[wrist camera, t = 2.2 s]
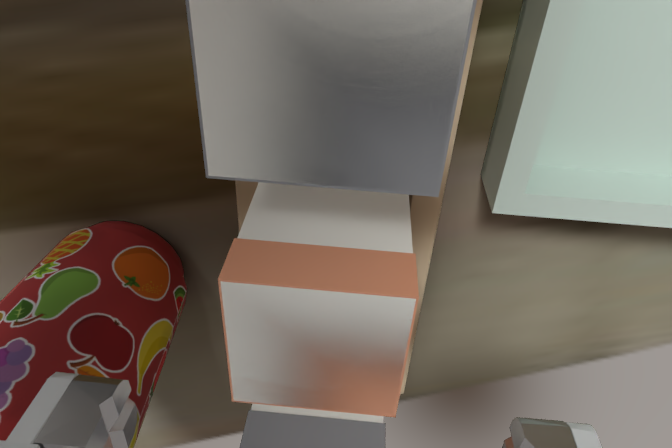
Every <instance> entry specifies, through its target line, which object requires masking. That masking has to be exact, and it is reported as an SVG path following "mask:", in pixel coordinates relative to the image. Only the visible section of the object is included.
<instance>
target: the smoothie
mask: <svg viewBox="0 0 672 448" xmlns="http://www.w3.org/2000/svg"><path fill="white" fill-rule="evenodd" d="M183 275H184V270H183V267H182V263H181V260H180V258H179V256H178V255H177V253H176V252H175V250H174V249H173V248H172V246H171V245H170V244H169V243H167V242H166V241H165V240H164V239H163V238H162V237H160V236H159V235H158V234H156V233H154V232H152V231H150V230H148V229H147V228H145V227H143V226H140V225H136V224H132V223H129V222H125V221H105V222H102V223H98V224H95V225H92V226H91V227H86V228H83V229H80V230H77V231H73V232H71V233H70V234H69V235H67V236H66V237H65V238H64V239H62V240H61V241H60V242H59V243H58V244H57V245H56V246H55V247H54V248H53V249H52V250H51V251H50V252H49V253H48V254H47V255H46V256H45V257H44V258H43V259H42V260H41V261H40V262H39V263H38V264H37V265H36V266H35V267H34V268H33V269H32V270H31V271H30V272H29V273H28V274H27V275H26V277H25V278H24V279H23V280H22V281H21V282H20V283H19V284H18V285H17V286H16V287H15V288H14V289H13V290H12V291H11V292H10V293H9V294H8V295H7V296H6V297H5V298H4V299H3V300H2V301H1V302H0V440H3V441H6V439H7V438H8V436H9V435H10V434H11V432H12V431H13V429H14V428H15V426H16V425H17V423H18V422H19V420H20V419H21V417H22V416H23V414H24V413H25V411H26V410H27V408H28V407H29V405H30V404H31V403H32V401H33V400H34V398H35V397H36V395H37V394H38V392H39V391H40V389H41V388H42V386H43V385H44V383H45V382H46V380H47V379H48V378H49V377H50V376H51V375H53V374H54V373H55V372H63V373H73V374H81V375H90V376H98V377H107V378H115V379H124V380H128V381H129V384H130V387H131V392H130V394H129V396H128V398H130V399H131V400H132V401H133V402H134V403H135V404H136V408H137V424H136V428H135V432H134V436H133V438H132V440H131V443H130V445H129V447H128V448H134V445H135V443H136V440H137V437H138V434H139V431H140V429H141V426H142V423H143V420H144V417H145V414H146V412H147V409H148V406H149V403H150V400H151V398H152V395H153V392H154V389H155V386H156V383H157V381H158V378H159V375H160V372H161V369H162V367H163V364H164V361H165V358H166V355H167V352H168V350H169V347H170V344H171V341H172V338H173V336H174V333H175V330H176V327H177V324H178V321H179V319H180V316H181V313H182V310H183V307H184V305H185V301H186V294H187V287H186V284H185V280H184V277H183Z"/></svg>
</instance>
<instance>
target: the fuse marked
mask: <svg viewBox="0 0 672 448" xmlns="http://www.w3.org/2000/svg"><path fill="white" fill-rule="evenodd" d="M218 285H219V294H220V303H221V311H222V320H223V329H224V337H225V346H226V355H227V363H228V372H229V380H230V389H231V398H232V402H242V403H253V404H263V405H273V406H283V407H294V408H304V409H314V410H324V411H335V412H345V413H355V414H365V415H375V416H386V417H396V412H397V407H398V402H399V397H400V392H401V386H402V381H403V376H404V371H405V366H406V361H407V356H408V351H409V346H410V340H411V335H412V330H413V325H414V320H415V315H416V310H417V305H418V300H419V292H418V278H417V265H416V254H414V253H413V247H412V232H411V218H410V203H409V195H407V194H395V193H383V192H370V191H358V190H346V189H334V188H322V187H310V186H297V185H285V184H273V183H261V182H259V183H258V186H257V188H256V191H255V193H254V196H253V199H252V201H251V204H250V206H249V209H248V211H247V214H246V217H245V219H244V222H243V224H242V227H241V230H240V232H239V235H238V237H237V238H234V240H233V242H232V245H231V247H230V250H229V252H228V255H227V257H226V260H225V262H224V265H223V267H222V270H221V272H220V275H219V278H218Z"/></svg>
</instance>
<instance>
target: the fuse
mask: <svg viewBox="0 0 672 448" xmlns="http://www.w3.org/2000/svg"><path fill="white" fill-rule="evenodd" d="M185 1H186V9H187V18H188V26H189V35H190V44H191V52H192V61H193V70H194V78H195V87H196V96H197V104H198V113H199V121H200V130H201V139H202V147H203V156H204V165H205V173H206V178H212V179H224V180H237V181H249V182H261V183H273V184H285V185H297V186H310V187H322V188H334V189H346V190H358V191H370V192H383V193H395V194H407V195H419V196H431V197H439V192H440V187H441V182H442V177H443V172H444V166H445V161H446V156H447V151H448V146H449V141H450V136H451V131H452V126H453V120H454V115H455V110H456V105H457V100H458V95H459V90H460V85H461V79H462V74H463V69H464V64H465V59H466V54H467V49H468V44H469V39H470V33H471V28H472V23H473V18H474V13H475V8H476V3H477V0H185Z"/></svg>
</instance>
